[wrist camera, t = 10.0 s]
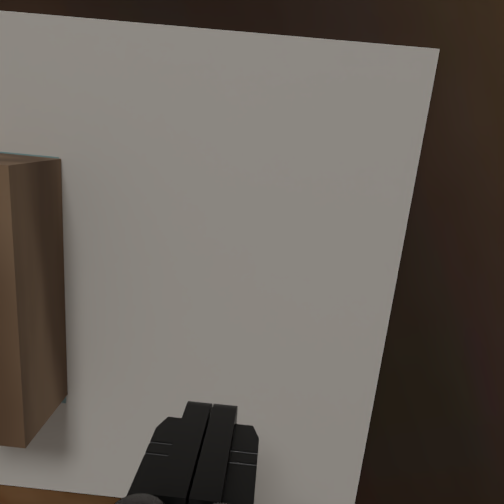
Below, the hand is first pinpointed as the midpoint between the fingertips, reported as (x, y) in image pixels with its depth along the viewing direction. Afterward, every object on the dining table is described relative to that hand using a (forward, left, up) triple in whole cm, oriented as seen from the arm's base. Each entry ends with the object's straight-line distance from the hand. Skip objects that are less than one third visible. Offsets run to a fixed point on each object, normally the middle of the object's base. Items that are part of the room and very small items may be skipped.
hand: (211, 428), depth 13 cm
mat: (+9, 0, -9) cm, 12 cm away
